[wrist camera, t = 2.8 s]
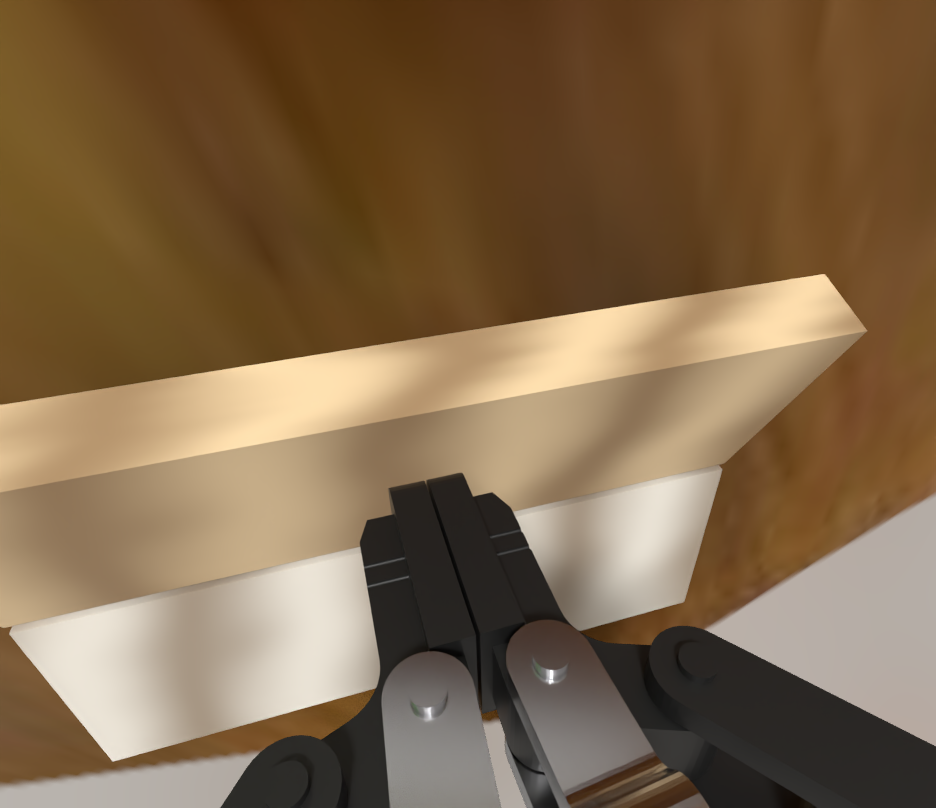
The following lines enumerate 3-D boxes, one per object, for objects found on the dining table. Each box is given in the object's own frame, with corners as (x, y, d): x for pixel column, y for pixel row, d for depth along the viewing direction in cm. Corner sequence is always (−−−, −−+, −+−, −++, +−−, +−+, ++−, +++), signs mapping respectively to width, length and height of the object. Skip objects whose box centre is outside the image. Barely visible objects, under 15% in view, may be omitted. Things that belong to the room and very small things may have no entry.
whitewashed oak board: (691, 438, 24) (722, 469, 22) (660, 568, 28) (684, 601, 27) (31, 580, 19) (9, 633, 17) (123, 709, 23) (112, 761, 22)
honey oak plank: (824, 274, 16) (867, 330, 15) (700, 418, 23) (723, 463, 22) (-234, 442, 11) (-271, 542, 10) (12, 561, 18) (4, 628, 17)
